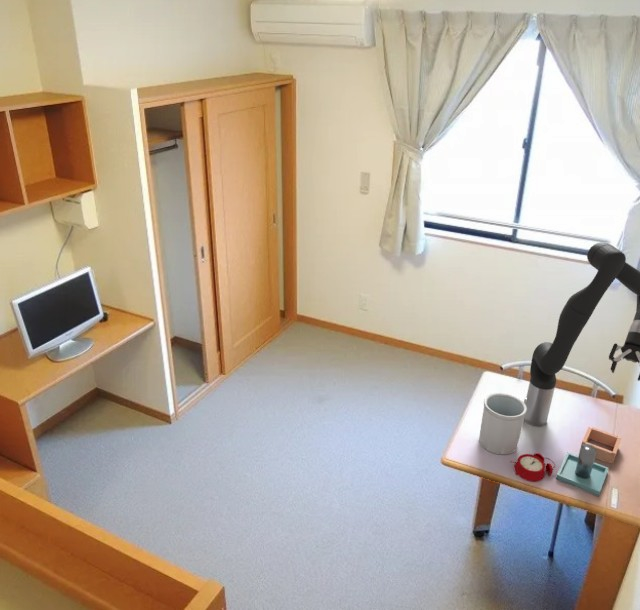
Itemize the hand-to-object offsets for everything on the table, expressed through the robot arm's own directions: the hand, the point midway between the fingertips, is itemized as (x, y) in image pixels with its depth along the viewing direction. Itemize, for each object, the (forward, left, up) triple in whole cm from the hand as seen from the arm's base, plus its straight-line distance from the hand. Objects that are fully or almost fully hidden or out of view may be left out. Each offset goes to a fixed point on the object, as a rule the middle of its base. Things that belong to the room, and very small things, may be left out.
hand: (625, 376), depth 210 cm
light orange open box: (-1, -8, -29) cm, 30 cm away
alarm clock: (-18, -33, -29) cm, 47 cm away
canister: (-3, -26, -28) cm, 38 cm away
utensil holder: (-33, -26, -29) cm, 51 cm away
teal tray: (-3, -26, -29) cm, 39 cm away
